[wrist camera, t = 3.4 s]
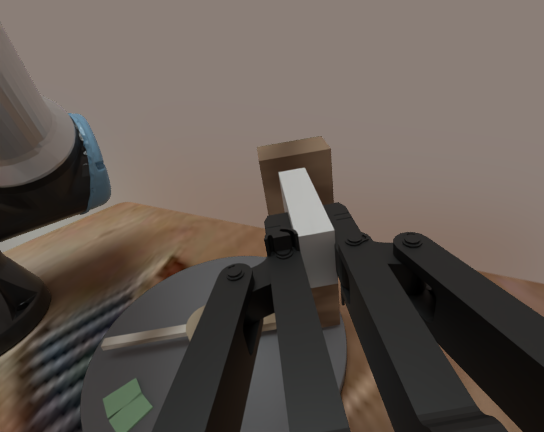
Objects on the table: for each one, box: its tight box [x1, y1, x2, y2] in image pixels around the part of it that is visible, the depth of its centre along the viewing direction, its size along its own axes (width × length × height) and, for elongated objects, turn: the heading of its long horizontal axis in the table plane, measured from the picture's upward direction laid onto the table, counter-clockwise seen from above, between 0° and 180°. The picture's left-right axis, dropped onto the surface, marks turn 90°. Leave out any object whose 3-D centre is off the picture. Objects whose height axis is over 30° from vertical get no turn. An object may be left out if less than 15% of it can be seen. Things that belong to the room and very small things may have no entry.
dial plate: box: [80, 256, 347, 432], centre depth 33 cm, size 26×26×2 cm
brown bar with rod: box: [101, 136, 340, 351], centre depth 28 cm, size 24×5×18 cm, turn 95°
